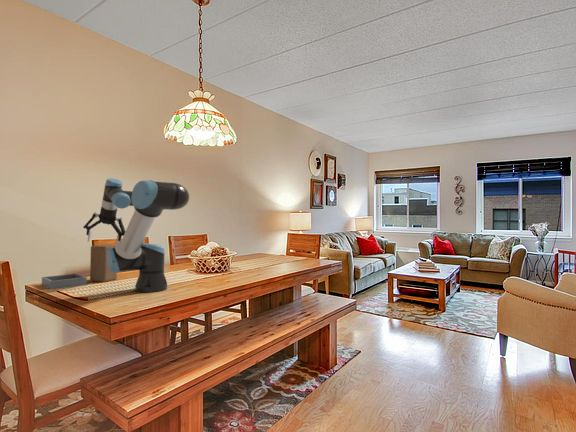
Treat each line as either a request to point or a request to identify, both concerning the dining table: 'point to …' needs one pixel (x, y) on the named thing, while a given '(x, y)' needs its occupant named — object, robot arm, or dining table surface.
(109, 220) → the robot arm
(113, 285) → the dining table surface
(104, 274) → the wooden block
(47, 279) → the tray
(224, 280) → the dining table surface
